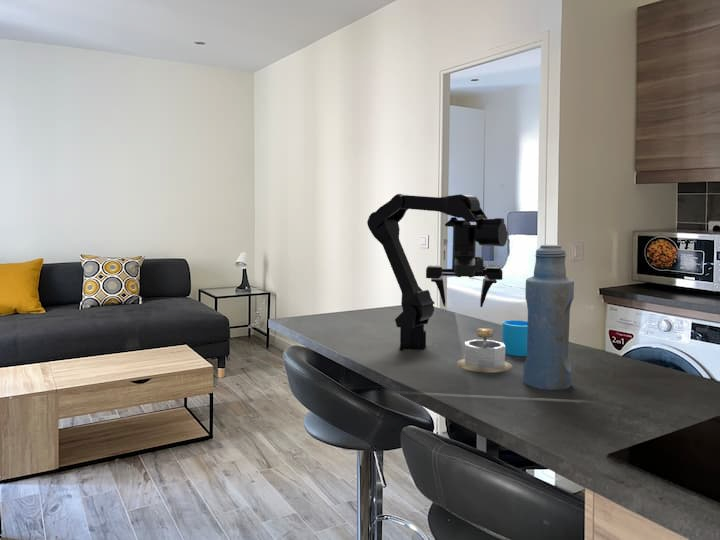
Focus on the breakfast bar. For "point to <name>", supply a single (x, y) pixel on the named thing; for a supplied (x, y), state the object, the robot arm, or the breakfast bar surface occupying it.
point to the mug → (515, 337)
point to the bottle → (548, 321)
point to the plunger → (484, 334)
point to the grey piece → (484, 355)
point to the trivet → (462, 365)
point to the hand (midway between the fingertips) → (462, 306)
